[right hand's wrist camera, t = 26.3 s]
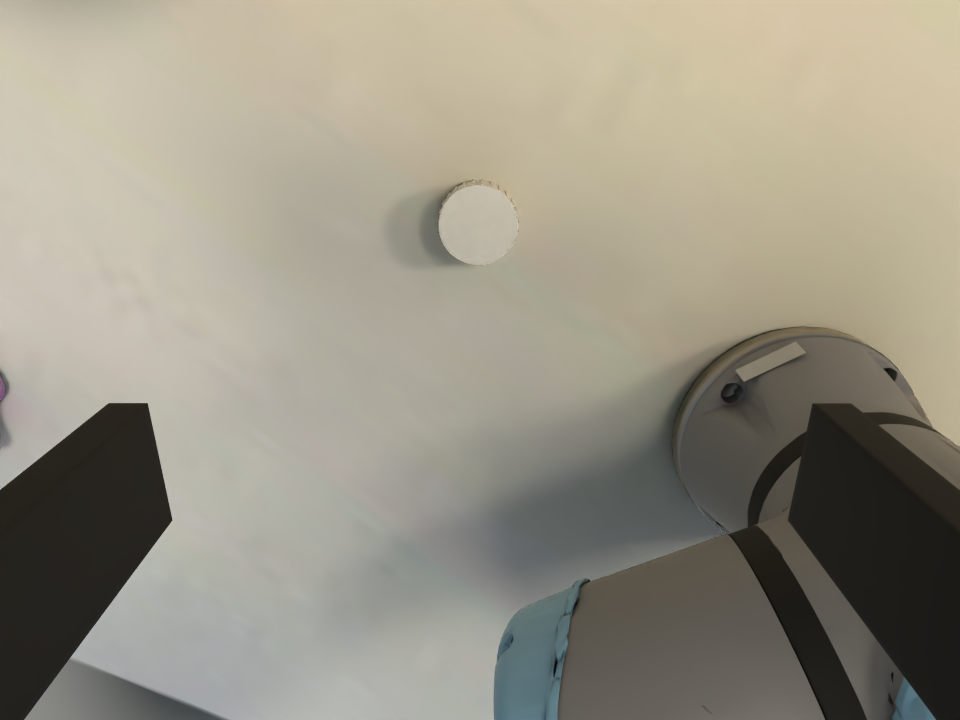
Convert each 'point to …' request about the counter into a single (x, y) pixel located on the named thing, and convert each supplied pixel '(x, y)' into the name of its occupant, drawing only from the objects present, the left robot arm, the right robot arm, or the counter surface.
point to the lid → (478, 222)
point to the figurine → (2, 394)
